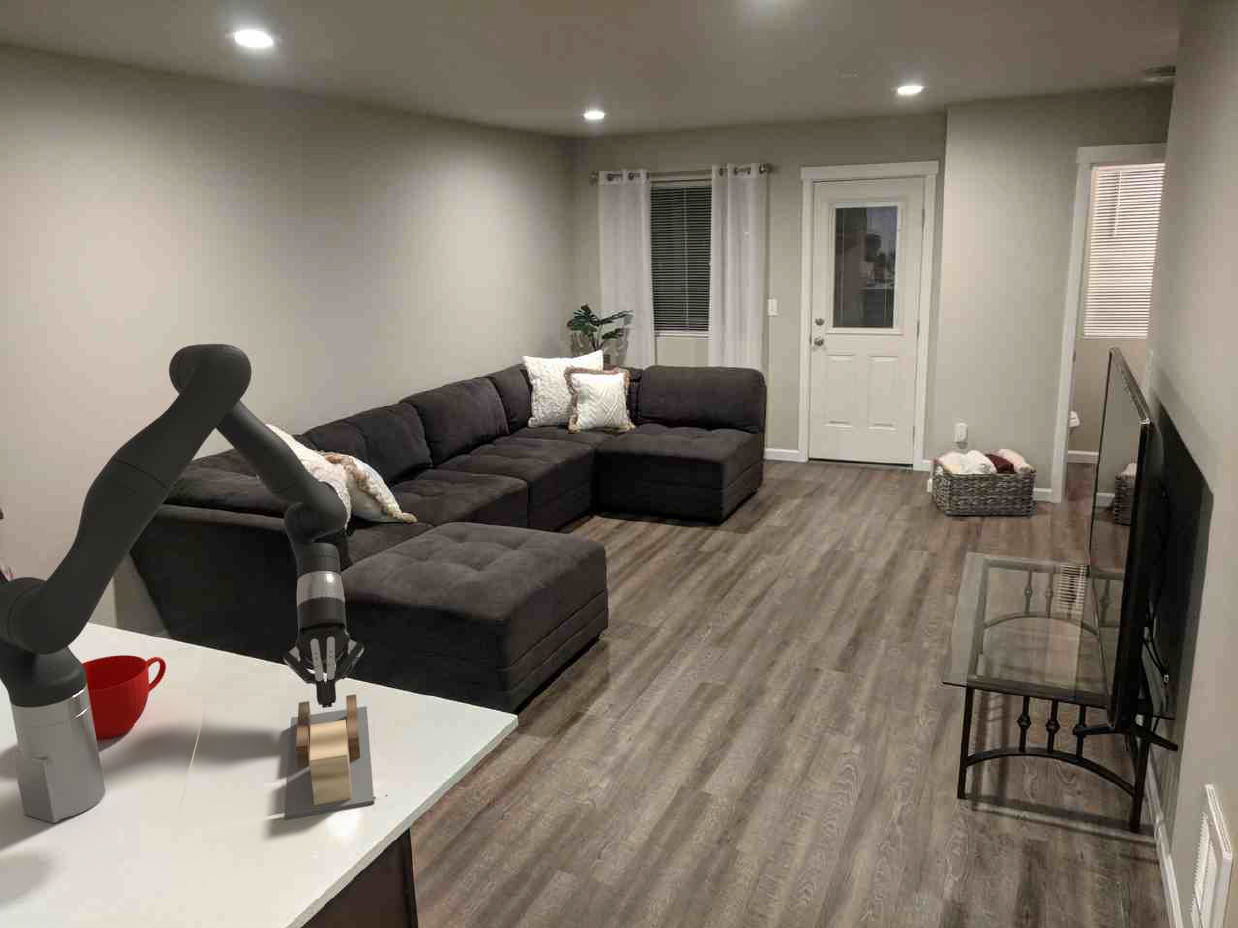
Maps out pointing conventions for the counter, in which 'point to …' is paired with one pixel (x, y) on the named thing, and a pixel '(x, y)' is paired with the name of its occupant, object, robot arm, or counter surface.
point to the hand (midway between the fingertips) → (327, 705)
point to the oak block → (330, 762)
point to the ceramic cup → (119, 691)
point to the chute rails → (305, 728)
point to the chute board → (301, 781)
